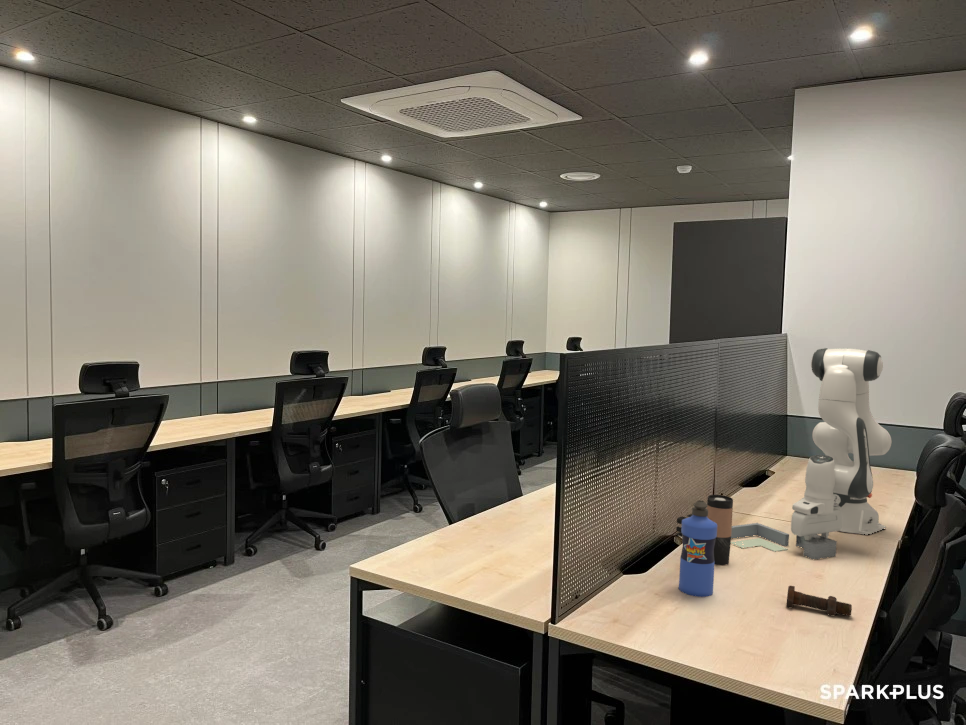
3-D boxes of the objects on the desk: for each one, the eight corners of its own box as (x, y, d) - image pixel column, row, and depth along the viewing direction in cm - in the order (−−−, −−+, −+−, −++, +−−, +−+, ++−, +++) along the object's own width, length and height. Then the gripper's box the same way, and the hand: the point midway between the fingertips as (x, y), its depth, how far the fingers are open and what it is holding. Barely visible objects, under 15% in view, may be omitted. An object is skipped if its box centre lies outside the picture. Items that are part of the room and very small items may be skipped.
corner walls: (756, 533, 244) (757, 522, 244) (788, 545, 232) (789, 534, 231) (719, 539, 237) (719, 527, 236) (749, 551, 224) (750, 539, 224)
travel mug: (729, 558, 217) (733, 496, 215) (729, 566, 209) (733, 502, 208) (704, 555, 219) (707, 493, 218) (703, 563, 212) (707, 499, 211)
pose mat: (759, 538, 238) (759, 537, 238) (788, 549, 227) (788, 548, 227) (729, 543, 232) (729, 542, 232) (756, 554, 222) (756, 553, 221)
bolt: (849, 625, 175) (785, 610, 182) (850, 610, 179) (787, 596, 185) (852, 610, 172) (787, 596, 179) (852, 595, 176) (788, 581, 182)
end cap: (692, 540, 234) (693, 521, 233) (675, 535, 239) (676, 516, 239) (709, 535, 240) (710, 516, 240) (692, 530, 246) (693, 511, 245)
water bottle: (683, 581, 196) (687, 495, 195) (716, 588, 192) (721, 500, 190) (674, 591, 188) (679, 502, 187) (709, 599, 184) (714, 507, 182)
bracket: (804, 544, 234) (805, 530, 233) (835, 556, 223) (836, 541, 222) (783, 548, 229) (784, 533, 229) (813, 559, 218) (815, 544, 218)
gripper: (831, 500, 234) (829, 539, 234) (788, 505, 225) (786, 546, 226) (848, 504, 228) (845, 545, 229) (804, 510, 219) (802, 552, 220)
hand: (815, 546), depth 227 cm, fingers open, 4 cm apart
